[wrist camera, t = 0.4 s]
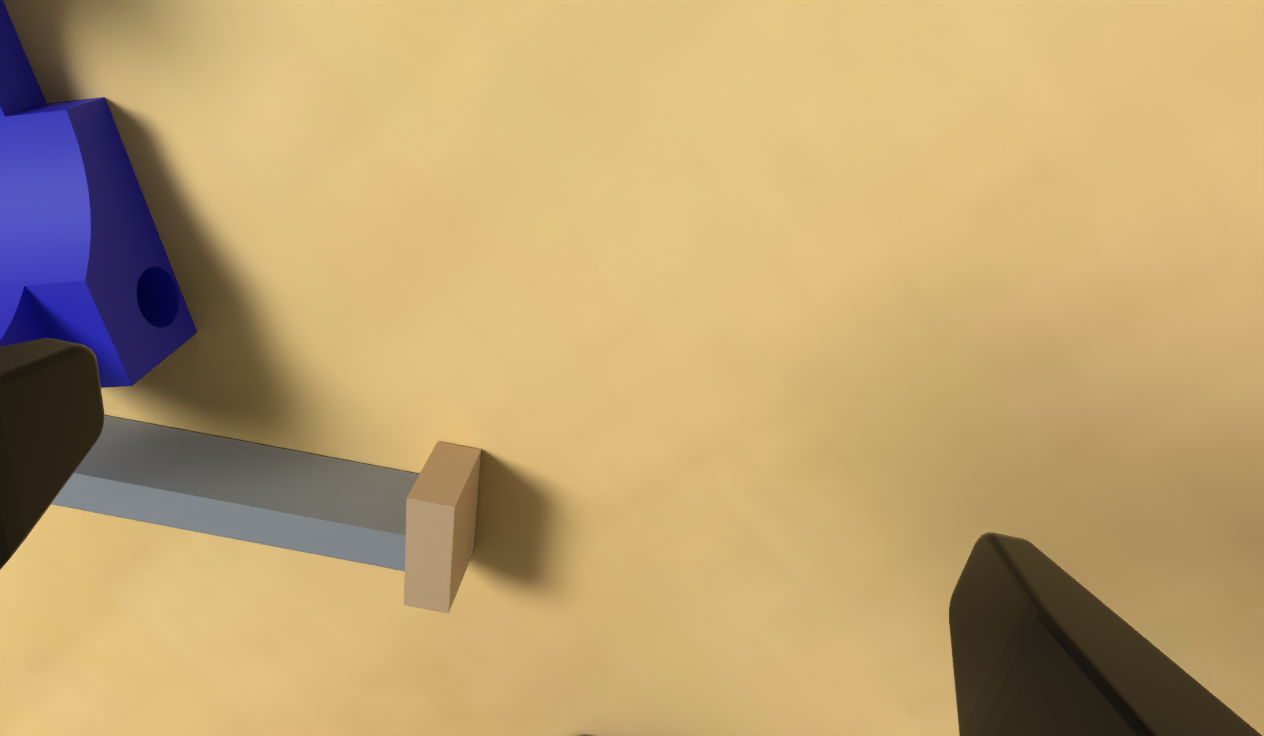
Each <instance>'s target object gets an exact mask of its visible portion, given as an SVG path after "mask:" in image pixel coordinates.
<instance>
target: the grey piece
mask: <svg viewBox="0 0 1264 736" xmlns="http://www.w3.org/2000/svg"><path fill="white" fill-rule="evenodd" d="M480 459H481V449H475V448H470V447H464V446H459V445H454V444H448V443H443V442H437V443H436V445H435V447H434V449H433V451H432V453H431V454H430V456H429V458H428V460H427V462H426V463H425V465H424V467H423V469H422V471H421V473H420V474H417V473H411V472H406V471H401V470H395V469H390V468H385V467H379V466H374V465H368V464H363V463H358V462H352V461H347V460H342V459H336V458H331V457H326V456H320V455H315V454H309V453H304V452H299V451H293V450H288V449H283V448H277V447H272V446H266V445H261V444H256V443H250V442H245V441H240V440H234V439H229V438H224V437H218V436H213V435H207V434H202V433H197V432H191V431H186V430H181V429H175V428H170V427H165V426H159V425H154V424H148V423H143V422H138V421H132V420H127V419H122V418H116V417H111V416H105V415H104V425H103V429H102V432H101V434H100V436H99V438H98V440H97V442H96V443H95V445H94V446H93V447H92V449H91V450H90V451H89V453H88V454H87V455H86V457H85V458H84V460H83V461H82V462H81V464H80V465H79V466H78V468H77V469H76V470H75V472H74V473H73V475H72V476H71V477H70V479H69V480H68V481H67V483H66V484H65V485H64V487H63V488H62V490H61V491H60V492H59V494H58V495H57V496H56V498H55V499H54V500H53V502H52V503H51V504H52V505H58V506H63V507H68V508H74V509H79V510H84V511H89V512H95V513H100V514H105V515H111V516H116V517H121V518H126V519H132V520H137V521H142V522H148V523H153V524H158V525H163V526H169V527H174V528H179V529H185V530H190V531H195V532H200V533H206V534H211V535H216V536H222V537H227V538H232V539H237V540H243V541H248V542H253V543H259V544H264V545H269V546H274V547H280V548H285V549H290V550H296V551H301V552H306V553H311V554H317V555H322V556H327V557H333V558H338V559H343V560H348V561H354V562H359V563H364V564H370V565H375V566H380V567H385V568H391V569H396V570H401V571H405V589H404V605H407V606H412V607H417V608H423V609H428V610H433V611H438V612H444V613H449V611H450V608H451V606H452V603H453V601H454V599H455V596H456V594H457V591H458V589H459V586H460V584H461V581H462V579H463V576H464V574H465V571H466V569H467V566H468V564H469V561H470V559H471V556H472V554H473V551H474V540H475V527H476V513H477V499H478V486H479V472H480Z"/></svg>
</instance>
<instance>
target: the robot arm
mask: <svg viewBox="0 0 1264 736" xmlns="http://www.w3.org/2000/svg"><path fill="white" fill-rule="evenodd" d="M103 425H104V408H103V401H102V394H101V386H100V379H99V371H98V364H97V359H96V356H95V354H94V353H93V351H92V350H91V349H90V348H88V347H87V346H85V345H82V344H78V343H73V342H68V341H63V340H59V339H54V338H41V339H36V340H31V341H26V342H21V343H16V344H11V345H6V346H0V569H1V568H2V567H3V566H4V565H5V564H6V562H7V561H8V560H9V559H10V558H11V556H12V555H13V554H14V553H15V551H16V550H17V549H18V547H19V546H20V545H21V544H22V542H23V541H24V540H25V539H26V537H27V536H28V535H29V533H30V532H31V530H32V529H33V528H34V526H35V525H36V524H37V522H38V521H39V520H40V518H41V517H42V515H43V514H44V513H45V511H46V510H47V509H48V507H49V506H50V505H51V503H52V502H53V500H54V499H55V498H56V496H57V495H58V494H59V492H60V491H61V490H62V488H63V487H64V485H65V484H66V483H67V481H68V480H69V479H70V477H71V476H72V475H73V473H74V472H75V470H76V469H77V468H78V466H79V465H80V464H81V462H82V461H83V460H84V458H85V457H86V455H87V454H88V453H89V451H90V450H91V449H92V447H93V446H94V445H95V443H96V442H97V440H98V438H99V436H100V434H101V432H102V429H103ZM949 624H950V635H951V646H952V657H953V668H954V679H955V690H956V701H957V712H958V723H959V734H960V736H1262V735H1261V734H1260V733H1258V732H1257V731H1256V730H1255V729H1254V728H1252V727H1251V726H1250V725H1249V724H1248V723H1246V722H1245V721H1244V720H1243V719H1242V718H1240V717H1239V716H1238V715H1237V714H1236V713H1234V712H1233V711H1232V710H1231V709H1230V708H1228V707H1227V706H1226V705H1225V704H1224V703H1222V702H1221V701H1220V700H1219V699H1218V698H1216V697H1215V696H1214V695H1213V694H1212V693H1210V692H1209V691H1208V690H1207V689H1206V688H1204V687H1203V686H1202V685H1201V684H1200V683H1198V682H1197V681H1196V680H1195V679H1194V678H1192V677H1191V676H1190V675H1189V674H1188V673H1186V672H1185V671H1184V670H1183V669H1182V668H1180V667H1179V666H1178V665H1177V664H1176V663H1174V662H1173V661H1172V660H1171V659H1170V658H1168V657H1167V656H1166V655H1165V654H1164V653H1162V652H1161V651H1160V650H1159V649H1158V648H1156V647H1155V646H1154V645H1153V644H1152V643H1150V642H1149V641H1148V640H1147V639H1146V638H1144V637H1143V636H1142V635H1141V634H1140V633H1138V632H1137V631H1136V630H1135V629H1134V628H1132V627H1131V626H1130V625H1129V624H1128V623H1126V622H1125V621H1124V620H1123V619H1122V618H1120V617H1119V616H1118V615H1117V614H1116V613H1114V612H1113V611H1112V610H1111V609H1110V608H1108V607H1107V606H1106V605H1105V604H1104V603H1102V602H1101V601H1100V600H1099V599H1098V598H1096V597H1095V596H1094V595H1093V594H1092V593H1090V592H1089V591H1088V590H1087V589H1086V588H1084V587H1083V586H1082V585H1081V584H1080V583H1078V582H1077V581H1076V580H1075V579H1074V578H1072V577H1071V576H1070V575H1069V574H1068V573H1066V572H1065V571H1064V570H1063V569H1062V568H1060V567H1059V566H1058V565H1057V564H1056V563H1054V562H1053V561H1052V560H1051V559H1050V558H1048V557H1047V556H1046V555H1045V554H1044V553H1042V552H1041V551H1040V550H1039V549H1038V548H1036V547H1035V546H1034V545H1033V544H1032V543H1030V542H1029V541H1027V540H1024V539H1022V538H1017V537H1012V536H1007V535H1002V534H997V533H991V532H988V533H986V534H984V535H981V537H980V538H979V539H978V540H977V542H976V543H975V545H974V547H973V550H972V552H971V554H970V556H969V558H968V560H967V563H966V565H965V567H964V569H963V571H962V574H961V576H960V578H959V580H958V582H957V585H956V587H955V589H954V591H953V594H952V597H951V601H950V607H949Z"/></svg>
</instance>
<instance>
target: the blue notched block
mask: <svg viewBox="0 0 1264 736" xmlns="http://www.w3.org/2000/svg"><path fill="white" fill-rule="evenodd" d="M196 333H197V331H196V328H195V326H194V323H193V321H192V318H191V316H190V313H189V311H188V308H187V305H186V303H185V300H184V298H183V295H182V293H181V290H180V288H179V285H178V283H177V280H176V277H175V275H174V272H173V270H172V267H171V265H170V262H169V260H168V257H167V255H166V252H165V249H164V247H163V244H162V242H161V239H160V237H159V234H158V232H157V229H156V227H155V224H154V222H153V219H152V216H151V214H150V211H149V209H148V206H147V204H146V201H145V199H144V196H143V194H142V191H141V188H140V186H139V183H138V181H137V178H136V176H135V173H134V171H133V168H132V166H131V163H130V161H129V158H128V155H127V153H126V150H125V148H124V145H123V143H122V140H121V138H120V135H119V133H118V130H117V127H116V125H115V122H114V120H113V117H112V115H111V112H110V110H109V107H108V105H107V102H106V99H105V97H101V98H93V99H84V100H75V101H66V102H57V103H48V104H46V101H45V99H44V97H43V94H42V92H41V90H40V87H39V85H38V83H37V80H36V78H35V76H34V73H33V71H32V68H31V66H30V64H29V61H28V59H27V57H26V54H25V52H24V50H23V47H22V45H21V43H20V40H19V38H18V36H17V33H16V31H15V28H14V26H13V24H12V21H11V19H10V17H9V14H8V12H7V10H6V7H5V5H4V3H3V0H0V346H6V345H11V344H16V343H21V342H26V341H31V340H36V339H41V338H54V339H59V340H63V341H68V342H73V343H78V344H82V345H85V346H87V347H88V348H90V349H91V350H92V351H93V353H94V354H95V356H96V359H97V364H98V371H99V379H100V386H101V388H102V387H120V386H132V385H133V384H135V383H136V382H137V381H138V380H140V379H141V378H142V377H143V376H144V375H146V374H147V373H148V372H149V371H151V370H152V369H153V368H154V367H155V366H157V365H158V364H159V363H160V362H162V361H163V360H164V359H165V358H166V357H168V356H169V355H170V354H171V353H173V352H174V351H175V350H176V349H177V348H179V347H180V346H181V345H182V344H184V343H185V342H186V341H187V340H188V339H190V338H191V337H192V336H193V335H194V334H196Z"/></svg>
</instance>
